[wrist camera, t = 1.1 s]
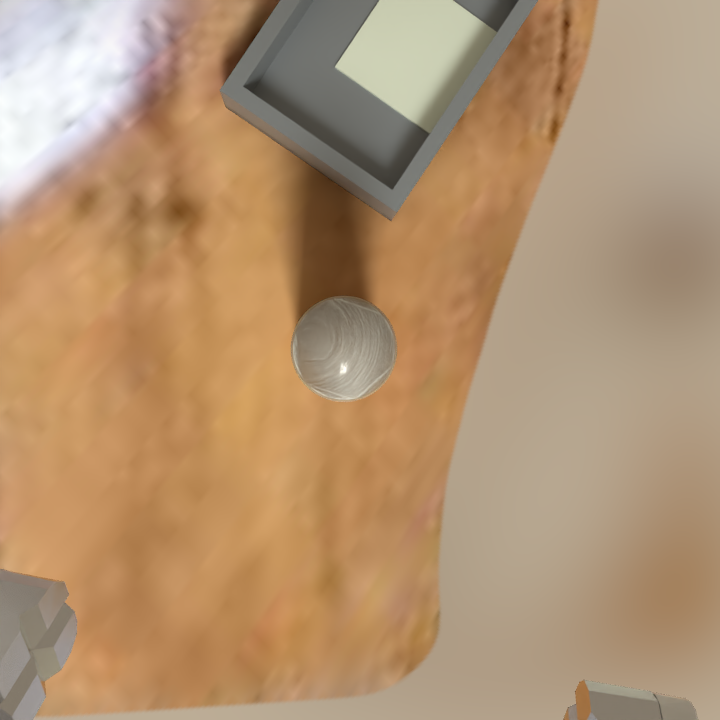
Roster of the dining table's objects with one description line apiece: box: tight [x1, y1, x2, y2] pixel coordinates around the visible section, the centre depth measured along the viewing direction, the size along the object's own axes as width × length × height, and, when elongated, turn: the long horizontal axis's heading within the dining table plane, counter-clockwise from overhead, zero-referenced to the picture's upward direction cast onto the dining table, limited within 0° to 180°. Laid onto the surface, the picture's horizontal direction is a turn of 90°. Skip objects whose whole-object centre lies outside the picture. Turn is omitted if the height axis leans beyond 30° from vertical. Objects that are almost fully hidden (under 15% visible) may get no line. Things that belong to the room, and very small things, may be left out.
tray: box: [220, 0, 538, 221], centre depth 43 cm, size 13×18×3 cm
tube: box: [291, 296, 397, 402], centre depth 39 cm, size 5×5×12 cm
